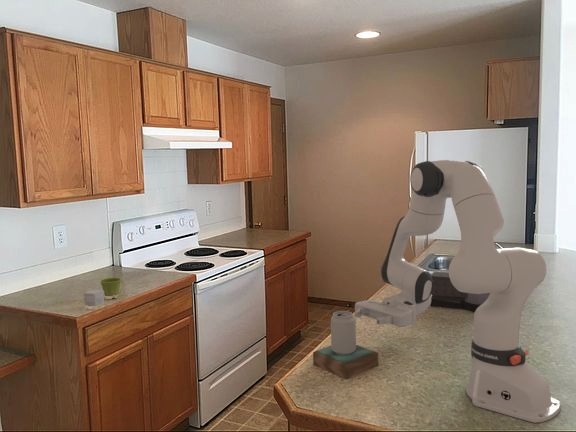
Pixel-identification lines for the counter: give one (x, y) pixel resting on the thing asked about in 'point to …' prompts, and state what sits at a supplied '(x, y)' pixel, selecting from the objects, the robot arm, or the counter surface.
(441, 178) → the robot arm
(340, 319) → the can
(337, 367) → the plinth
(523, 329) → the counter surface
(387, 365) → the counter surface
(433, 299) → the juicer
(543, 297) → the counter surface
